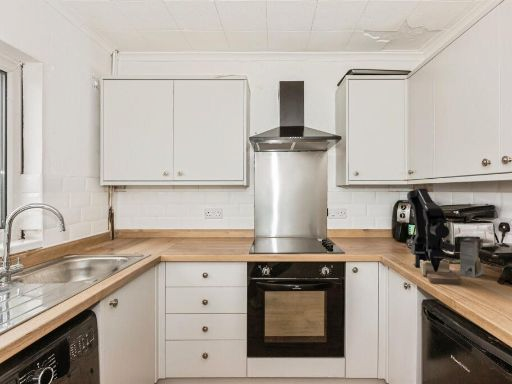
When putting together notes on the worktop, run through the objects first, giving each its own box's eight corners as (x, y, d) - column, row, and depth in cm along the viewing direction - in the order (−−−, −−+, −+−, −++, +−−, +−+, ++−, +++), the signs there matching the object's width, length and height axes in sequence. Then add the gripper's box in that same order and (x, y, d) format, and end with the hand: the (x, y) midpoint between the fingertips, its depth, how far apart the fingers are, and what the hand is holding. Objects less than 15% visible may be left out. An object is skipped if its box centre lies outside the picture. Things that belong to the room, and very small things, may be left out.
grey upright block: (468, 271, 160) (467, 237, 160) (483, 274, 155) (483, 239, 155) (459, 274, 155) (459, 239, 155) (475, 277, 150) (474, 241, 149)
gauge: (420, 271, 160) (420, 259, 160) (446, 273, 157) (446, 260, 157) (422, 275, 153) (422, 262, 153) (450, 276, 150) (450, 264, 150)
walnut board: (424, 273, 159) (424, 268, 159) (450, 274, 155) (450, 270, 155) (430, 282, 143) (430, 277, 143) (460, 284, 140) (460, 279, 140)
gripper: (459, 238, 143) (459, 275, 144) (448, 232, 161) (448, 265, 162) (429, 237, 147) (430, 273, 147) (422, 232, 165) (423, 264, 165)
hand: (433, 269), depth 155 cm, fingers open, 9 cm apart
